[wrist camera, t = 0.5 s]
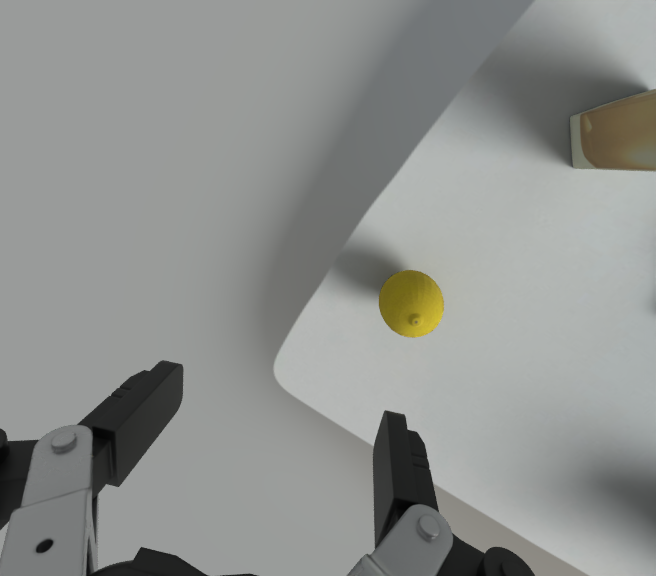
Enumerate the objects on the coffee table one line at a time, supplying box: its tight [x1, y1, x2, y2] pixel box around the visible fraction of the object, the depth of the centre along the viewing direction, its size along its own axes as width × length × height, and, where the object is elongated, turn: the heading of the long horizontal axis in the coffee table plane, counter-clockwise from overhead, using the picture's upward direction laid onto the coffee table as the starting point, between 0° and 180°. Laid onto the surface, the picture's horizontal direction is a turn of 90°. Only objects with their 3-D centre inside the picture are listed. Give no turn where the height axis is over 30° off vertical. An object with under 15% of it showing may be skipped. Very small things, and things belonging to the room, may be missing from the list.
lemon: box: [379, 270, 444, 337], centre depth 30 cm, size 6×6×8 cm
